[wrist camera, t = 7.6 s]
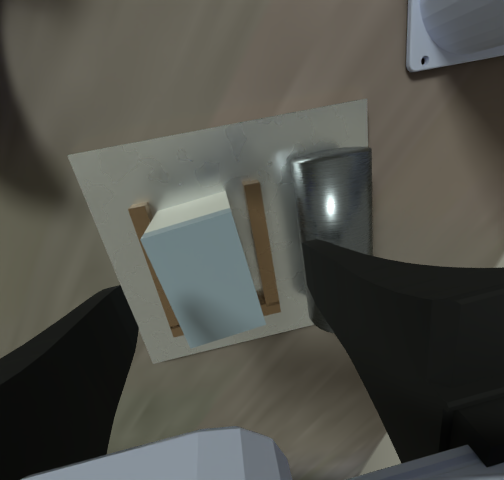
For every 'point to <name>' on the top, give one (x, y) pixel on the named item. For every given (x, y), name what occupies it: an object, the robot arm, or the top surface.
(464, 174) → the top surface
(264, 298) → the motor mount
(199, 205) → the block
